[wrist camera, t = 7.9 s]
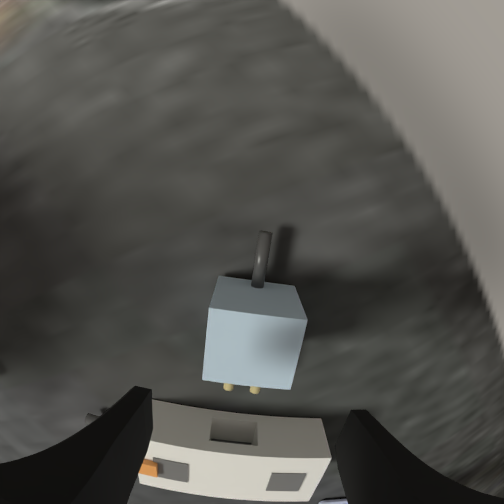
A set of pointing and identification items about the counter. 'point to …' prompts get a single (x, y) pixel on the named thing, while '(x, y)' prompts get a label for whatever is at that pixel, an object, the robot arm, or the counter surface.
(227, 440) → the power strip
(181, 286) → the counter surface
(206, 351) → the charger
